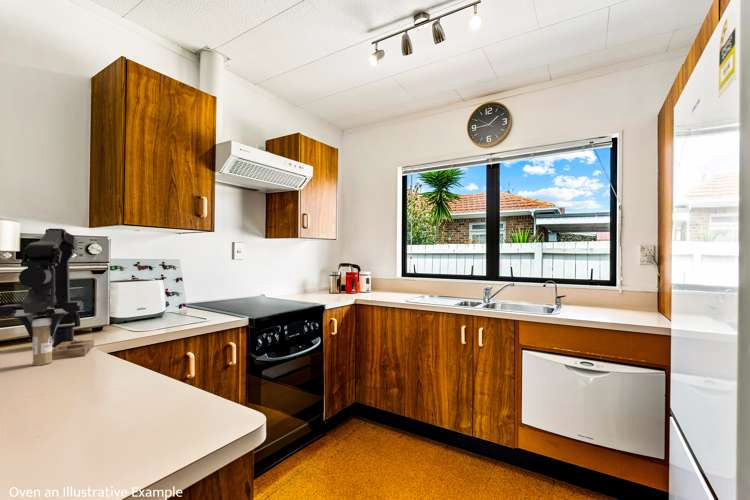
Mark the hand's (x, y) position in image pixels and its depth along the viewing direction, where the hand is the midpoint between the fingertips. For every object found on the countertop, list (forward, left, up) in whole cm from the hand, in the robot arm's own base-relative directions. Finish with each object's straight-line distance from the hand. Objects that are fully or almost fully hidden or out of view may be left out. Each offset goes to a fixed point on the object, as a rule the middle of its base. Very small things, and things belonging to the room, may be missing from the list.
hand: (42, 336), depth 109 cm
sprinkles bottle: (0, 0, -8) cm, 8 cm away
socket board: (-12, +5, -8) cm, 15 cm away
